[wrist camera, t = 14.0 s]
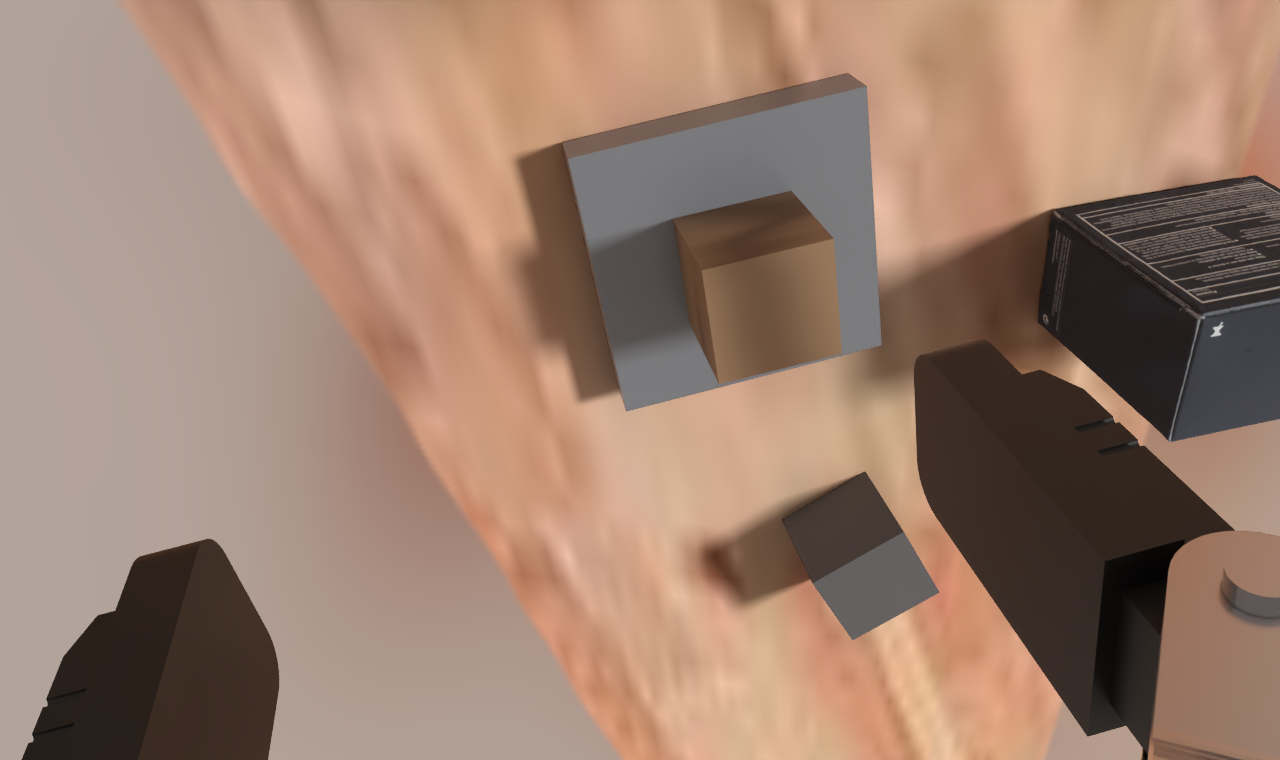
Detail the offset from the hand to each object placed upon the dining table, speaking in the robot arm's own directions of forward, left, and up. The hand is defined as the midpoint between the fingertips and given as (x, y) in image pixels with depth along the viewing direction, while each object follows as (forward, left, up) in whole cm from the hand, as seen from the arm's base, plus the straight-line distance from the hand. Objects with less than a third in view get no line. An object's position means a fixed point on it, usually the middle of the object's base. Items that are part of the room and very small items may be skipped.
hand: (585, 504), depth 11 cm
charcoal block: (-12, +30, -30) cm, 44 cm away
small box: (-28, +18, -30) cm, 45 cm away
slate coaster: (-8, +12, -30) cm, 33 cm away
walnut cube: (-8, +12, -28) cm, 32 cm away
